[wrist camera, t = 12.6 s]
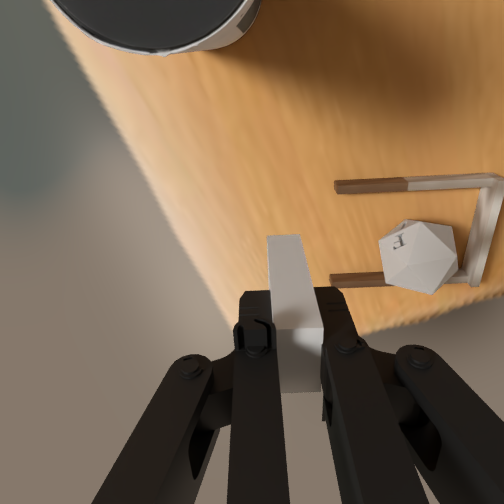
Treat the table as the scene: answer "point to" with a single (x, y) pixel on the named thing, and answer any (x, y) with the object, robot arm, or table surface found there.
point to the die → (419, 255)
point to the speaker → (161, 23)
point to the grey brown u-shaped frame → (486, 204)
